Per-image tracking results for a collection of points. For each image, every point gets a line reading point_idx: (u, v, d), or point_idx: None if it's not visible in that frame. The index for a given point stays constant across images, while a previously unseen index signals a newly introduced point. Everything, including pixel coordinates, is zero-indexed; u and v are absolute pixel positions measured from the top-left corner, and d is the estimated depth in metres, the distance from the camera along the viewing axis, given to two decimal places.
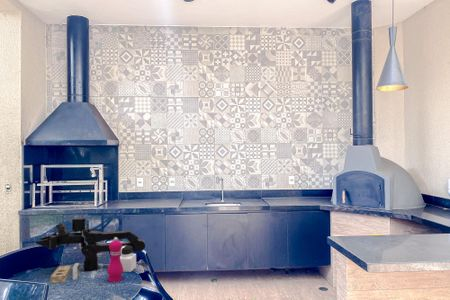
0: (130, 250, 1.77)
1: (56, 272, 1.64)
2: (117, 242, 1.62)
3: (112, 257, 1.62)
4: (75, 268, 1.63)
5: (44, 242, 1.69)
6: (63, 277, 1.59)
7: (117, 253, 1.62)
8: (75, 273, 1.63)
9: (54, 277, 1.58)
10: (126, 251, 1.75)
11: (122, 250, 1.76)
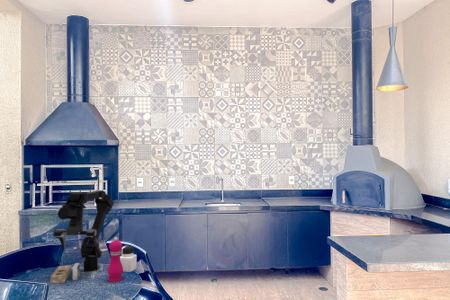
0: (131, 250, 1.77)
1: (56, 272, 1.64)
2: (117, 242, 1.62)
3: (112, 257, 1.62)
4: (75, 268, 1.63)
5: (87, 242, 1.68)
6: (63, 277, 1.59)
7: (117, 253, 1.62)
8: (75, 273, 1.63)
9: (54, 277, 1.58)
10: (127, 251, 1.76)
11: (123, 250, 1.77)
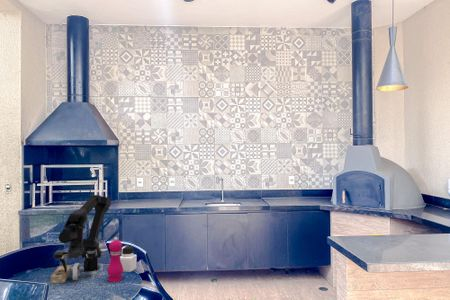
0: (131, 250, 1.77)
1: (56, 272, 1.64)
2: (117, 242, 1.62)
3: (112, 257, 1.62)
4: (75, 268, 1.63)
5: (87, 262, 1.67)
6: (63, 277, 1.59)
7: (117, 253, 1.62)
8: (75, 273, 1.63)
9: (54, 277, 1.58)
10: (127, 251, 1.76)
11: (123, 250, 1.77)
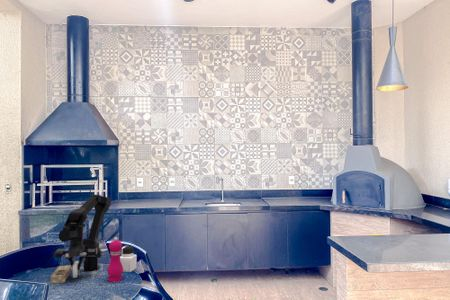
0: (131, 250, 1.77)
1: (56, 272, 1.64)
2: (117, 242, 1.62)
3: (112, 257, 1.62)
4: (75, 266, 1.63)
5: None
6: (63, 277, 1.59)
7: (117, 253, 1.62)
8: (75, 271, 1.63)
9: (54, 277, 1.58)
10: (127, 251, 1.76)
11: (123, 250, 1.77)
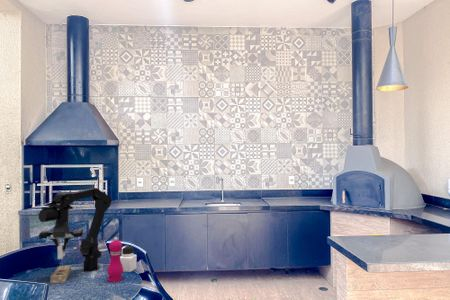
0: (131, 250, 1.77)
1: (56, 272, 1.64)
2: (117, 242, 1.62)
3: (112, 257, 1.62)
4: (60, 247, 1.61)
5: (66, 243, 1.65)
6: (63, 277, 1.59)
7: (117, 253, 1.62)
8: (60, 252, 1.62)
9: (54, 277, 1.58)
10: (127, 251, 1.76)
11: (123, 250, 1.77)
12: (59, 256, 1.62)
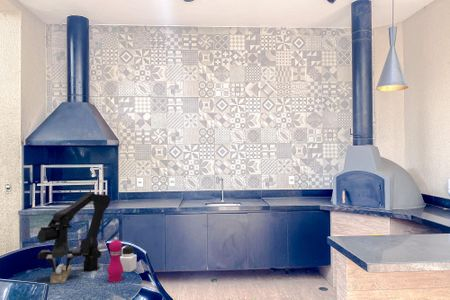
0: (131, 250, 1.77)
1: None
2: (117, 242, 1.62)
3: (112, 257, 1.62)
4: (58, 269, 1.61)
5: None
6: (63, 277, 1.59)
7: (117, 253, 1.62)
8: (59, 274, 1.61)
9: (54, 277, 1.58)
10: (127, 251, 1.76)
11: (123, 250, 1.77)
12: None
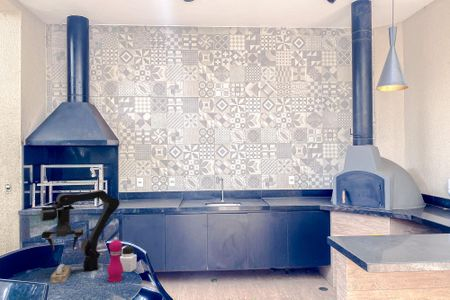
0: (131, 250, 1.77)
1: (56, 272, 1.64)
2: (117, 242, 1.62)
3: (112, 257, 1.62)
4: (59, 269, 1.61)
5: (76, 241, 1.73)
6: (63, 277, 1.59)
7: (117, 253, 1.62)
8: (59, 274, 1.61)
9: (54, 277, 1.58)
10: (127, 251, 1.76)
11: (123, 250, 1.77)
12: None
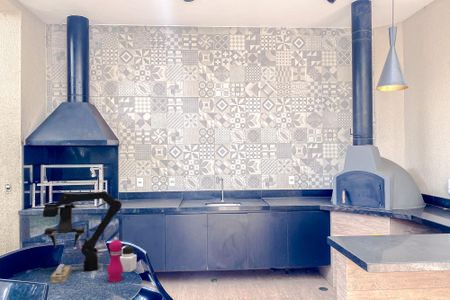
0: (131, 250, 1.77)
1: (56, 272, 1.64)
2: (117, 242, 1.62)
3: (112, 257, 1.62)
4: (59, 269, 1.61)
5: (77, 238, 1.79)
6: (63, 277, 1.59)
7: (117, 253, 1.62)
8: (59, 274, 1.61)
9: (54, 277, 1.58)
10: (127, 251, 1.76)
11: (123, 250, 1.77)
12: None
